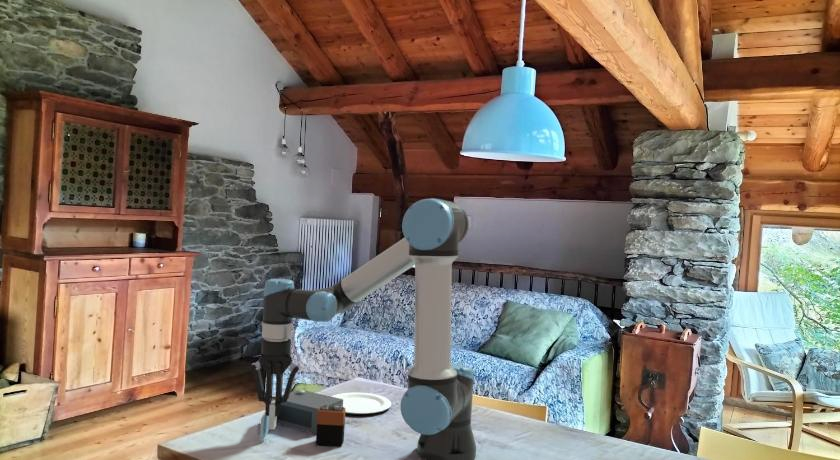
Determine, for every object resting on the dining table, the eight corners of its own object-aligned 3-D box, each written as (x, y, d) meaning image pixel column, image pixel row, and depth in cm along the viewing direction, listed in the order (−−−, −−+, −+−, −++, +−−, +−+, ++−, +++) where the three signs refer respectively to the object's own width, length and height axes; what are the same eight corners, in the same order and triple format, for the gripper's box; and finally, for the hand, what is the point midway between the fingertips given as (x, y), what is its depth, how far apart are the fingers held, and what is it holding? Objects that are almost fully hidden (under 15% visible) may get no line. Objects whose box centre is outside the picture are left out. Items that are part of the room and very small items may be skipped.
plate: (320, 398, 194) (320, 393, 194) (382, 395, 200) (382, 390, 200) (330, 419, 174) (330, 414, 174) (398, 416, 180) (399, 411, 180)
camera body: (348, 425, 169) (349, 397, 169) (324, 436, 160) (326, 407, 160) (297, 412, 178) (299, 386, 178) (272, 422, 168) (274, 395, 168)
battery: (341, 447, 153) (343, 408, 153) (315, 446, 153) (317, 407, 153) (344, 441, 157) (346, 403, 157) (318, 439, 157) (320, 402, 157)
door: (263, 442, 153) (264, 417, 152) (256, 442, 152) (258, 417, 152) (274, 422, 168) (275, 399, 167) (268, 422, 167) (269, 399, 167)
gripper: (303, 336, 160) (299, 423, 160) (255, 334, 159) (251, 421, 160) (299, 342, 152) (294, 434, 153) (247, 340, 152) (243, 431, 152)
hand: (272, 427), depth 156 cm, fingers closed
